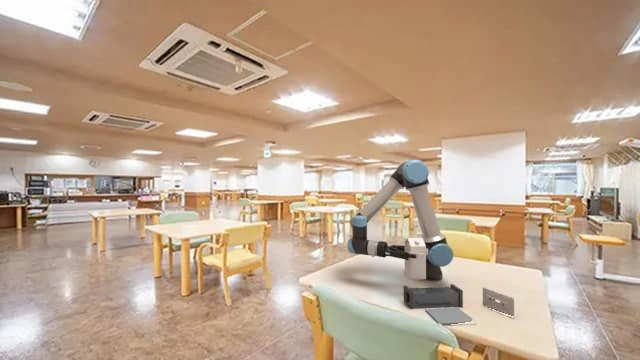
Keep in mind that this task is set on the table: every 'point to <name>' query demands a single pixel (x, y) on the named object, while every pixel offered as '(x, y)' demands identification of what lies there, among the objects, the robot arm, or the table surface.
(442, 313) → the slate mat
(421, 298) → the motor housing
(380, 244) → the robot arm
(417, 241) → the milk carton
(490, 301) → the cassette
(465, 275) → the table surface
